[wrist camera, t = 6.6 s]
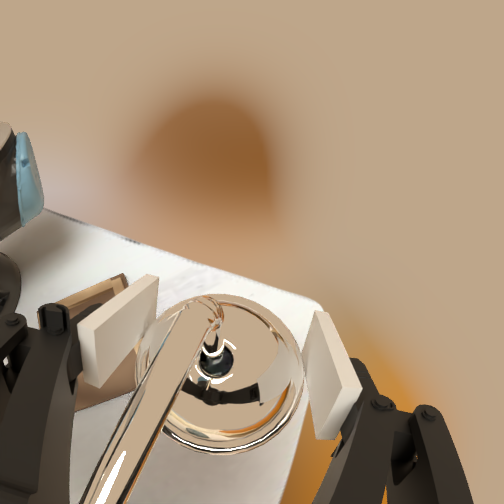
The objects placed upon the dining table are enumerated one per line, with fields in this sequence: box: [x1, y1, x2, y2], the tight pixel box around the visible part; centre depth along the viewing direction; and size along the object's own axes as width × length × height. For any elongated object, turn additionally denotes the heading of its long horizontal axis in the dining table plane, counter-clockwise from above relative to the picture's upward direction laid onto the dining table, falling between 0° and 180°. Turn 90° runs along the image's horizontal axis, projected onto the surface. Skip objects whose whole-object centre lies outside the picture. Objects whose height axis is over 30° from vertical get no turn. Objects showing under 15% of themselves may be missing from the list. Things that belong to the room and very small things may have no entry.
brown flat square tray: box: [37, 273, 145, 412], centre depth 32 cm, size 16×16×2 cm
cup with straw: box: [79, 294, 304, 504], centre depth 13 cm, size 8×9×20 cm
